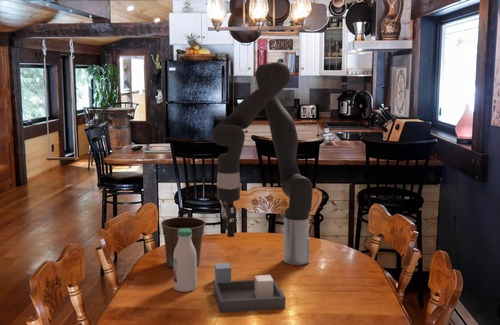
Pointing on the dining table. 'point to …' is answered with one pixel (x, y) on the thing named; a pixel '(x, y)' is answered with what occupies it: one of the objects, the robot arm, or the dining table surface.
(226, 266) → the slate blue block
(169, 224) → the plant pot
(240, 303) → the dark grey tray
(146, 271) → the dining table surface
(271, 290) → the cream block
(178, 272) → the milk bottle
